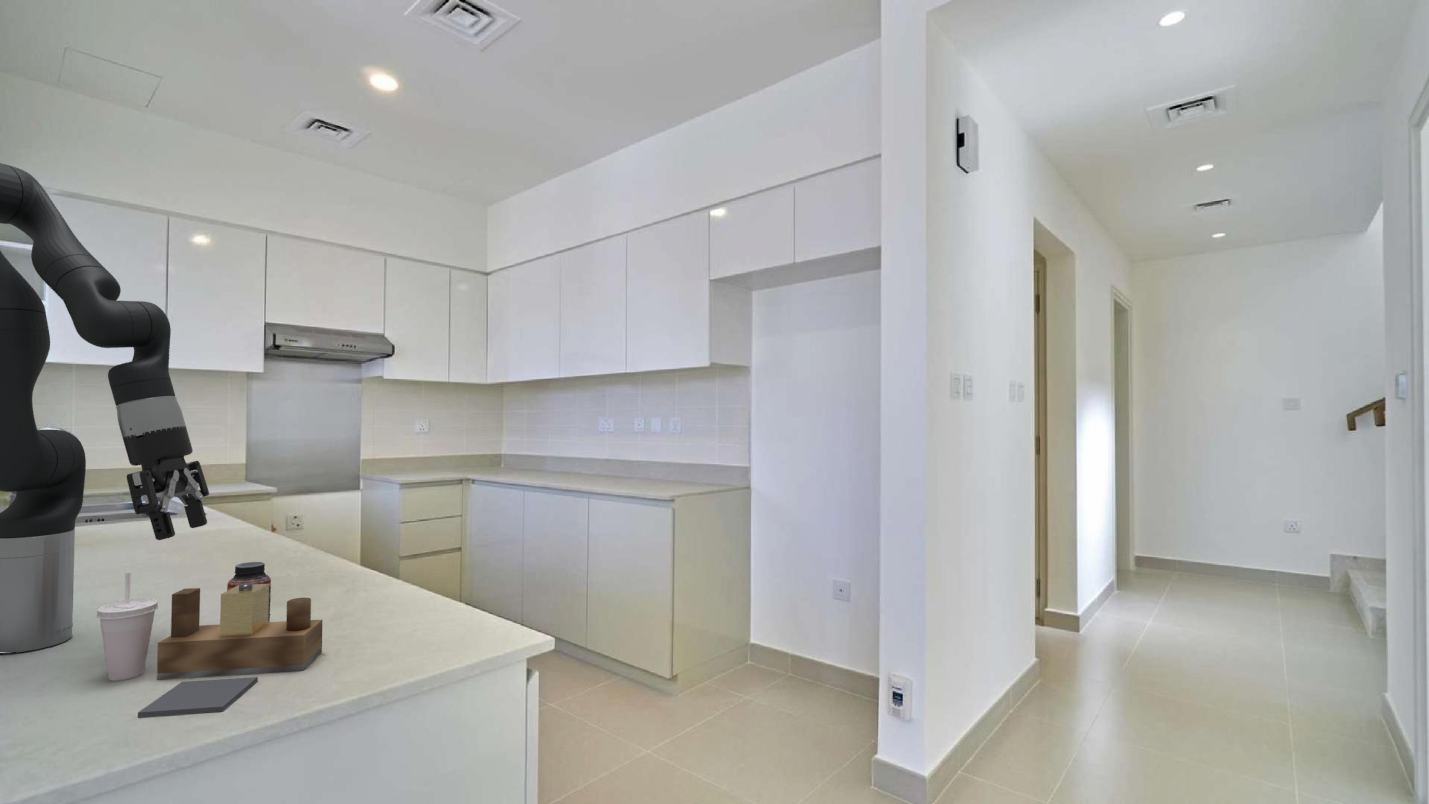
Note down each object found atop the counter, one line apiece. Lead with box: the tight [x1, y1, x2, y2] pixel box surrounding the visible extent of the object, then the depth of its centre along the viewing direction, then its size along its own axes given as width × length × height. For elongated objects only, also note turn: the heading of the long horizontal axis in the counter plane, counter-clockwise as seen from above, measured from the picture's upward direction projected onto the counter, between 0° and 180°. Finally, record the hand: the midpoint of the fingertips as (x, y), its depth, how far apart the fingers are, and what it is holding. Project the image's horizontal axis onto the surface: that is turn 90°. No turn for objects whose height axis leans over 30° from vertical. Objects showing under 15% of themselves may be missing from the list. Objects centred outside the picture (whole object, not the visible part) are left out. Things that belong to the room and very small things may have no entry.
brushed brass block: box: [219, 583, 269, 637], centre depth 95 cm, size 4×5×7 cm
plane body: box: [156, 587, 323, 681], centre depth 95 cm, size 18×7×11 cm, turn 102°
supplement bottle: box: [226, 561, 272, 622], centre depth 108 cm, size 6×6×11 cm
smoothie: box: [96, 572, 159, 681], centre depth 91 cm, size 6×6×14 cm
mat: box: [137, 676, 259, 718], centre depth 84 cm, size 9×9×1 cm
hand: (183, 532), depth 101 cm, fingers open, 8 cm apart
